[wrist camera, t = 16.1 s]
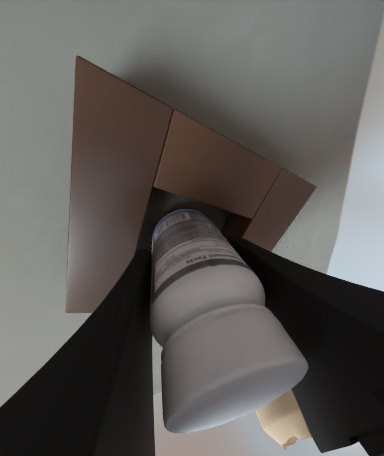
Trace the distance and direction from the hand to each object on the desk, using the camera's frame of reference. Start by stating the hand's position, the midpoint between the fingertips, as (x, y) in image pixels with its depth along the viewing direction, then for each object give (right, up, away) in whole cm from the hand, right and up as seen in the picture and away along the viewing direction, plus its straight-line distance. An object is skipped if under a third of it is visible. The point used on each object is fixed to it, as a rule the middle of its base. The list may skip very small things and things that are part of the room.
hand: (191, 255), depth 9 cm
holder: (-1, +1, +3) cm, 3 cm away
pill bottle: (-1, +1, +2) cm, 3 cm away
